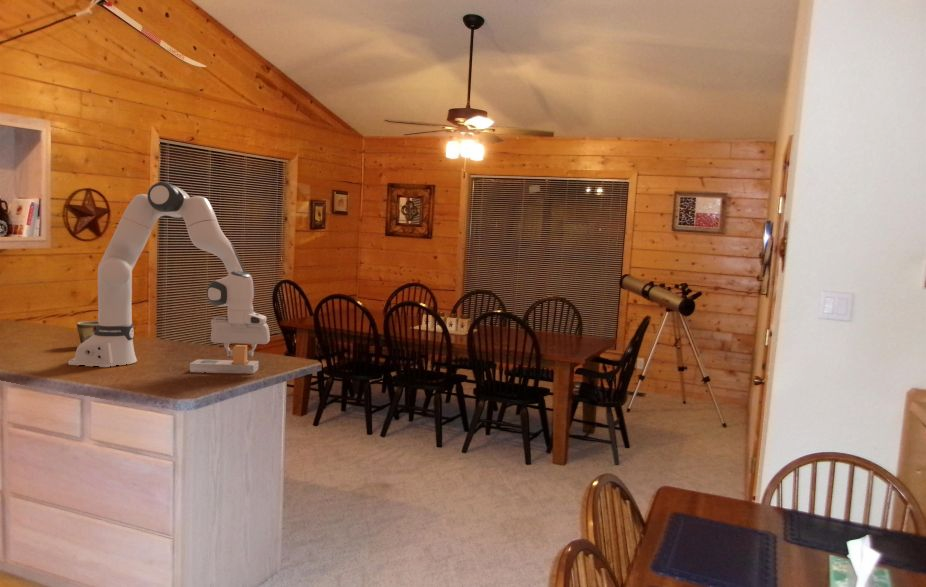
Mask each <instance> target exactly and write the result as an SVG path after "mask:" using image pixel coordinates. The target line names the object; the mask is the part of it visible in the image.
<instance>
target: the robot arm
mask: <svg viewBox="0 0 926 587" xmlns="http://www.w3.org/2000/svg"><path fill="white" fill-rule="evenodd" d="M210 202H211V201H209V200H208V198H206V197H204V196H201V195H194V196H191V195H190V194H189V193H188V192H186V191H185V190H183V189H182V188H180V187H178V186H175V185H174V184H172V183H169V182H164V181H163V182H162V181H161V182H157V183H154V184H153V185H151V186H150V188H148V191H147V194H146V193H138V194H137V195H135V196H134V197H133V198H132V199H131V200H130V202H129V204H127V207H126V208H125V210H124V212H123V213H122V216H121V217H120V220H119V221H118V222H119V223H118V224H117V227H116V229H115V231H114V233H113V235H112V237H111V238H110V241H109V243H108V245H107V247H106V249H105V252H104V254H103V255H102V258H101V260H100V262H99V264H98V266H97V311H98V312H97V313H98V315H97V318H98V319H97V321H98V325H96V326H94V327H93V329H92V330H91V331H94V335H92V336H91V337H90V338H88V339H87V340H86V341H84V342H83V343H82V344H81V343H79V345H78V346H77V348H76V351H75V355H74V357H73V358H71V359H69V360H68V365H69V366H79V365H85V366H84V367H93V366H99V367H98V368H110V366H111V367H115V366H116V365H119V366H126V364H127V365H132V364H135V363H136V362H138V359H137V355H136V353H135V347H134V331H135V330H134V323H133V318H132V316H133V313H132V312H133V309H132V308H133V306H132V305H133V303H132V302H133V300H132V299H133V297H132V295H133V281H132V280H133V270H134V269H135V266H136V264H137V262H138V259H139V258H140V256H141V255H142V252H143V250H144V248H145V246H146V244H147V242H148V240H149V238H150V236H151V234H152V231H153V229H154V227H155V224H156V223H157V221H158V220H159V218H162V217H164V218H167V219H174V220H181V219H182V220H183V221H184V223H185V227H186V230H187V233H188V237H189V239H190V241H191V242H192V245H194V246H195V247H196V248H198V249H199V250H202V251H203V252H206V253H209V254H213V255H214V256H216V257H218V258H219V259H220V260H221V261H222V263H223V265H224V267H225V269H226V272H227V273H228V274H227V275H226V276H225V277H222V278H220V279H215V280H213V281H210V283H209V284H208V285H207V288H206V299H207V300H208V302H209V303H210V304H211V305H212V306H215V307H226V306H227V316H215V317H212V318H211V320H210V327H211V333H210V341H211V342H212V343H214V344H223V347H224V348H225V349H224V350H226V352H227V353H226V356H227V357H228V356H231V357H233V349H231V348H230V347H229V346H230V344H241V345H242V344H248V345H251V350H247V357H253V356H254V352H255V349H256V348H257V346H258V345H266V344H268V343H269V342H270V340H271V339H270V338H271V337H270V336H271V335H270V334H271V333H270V327H269V325H268V323H267V318H268V317H267V316H266V315H263V314H260V313H257V312H255V311H254V305H253V301H254V298H255V294H256V289H255V285H254V279H253V277H252V275H251V274H250V273H248V272H246V270H245V268H244V266H243V263H242V262H241V259H240V258H239V257H240V256H239V255H238V253H237V250H236V248H235V246H234V245H233V243H232V241H231V240H230V239H229V238H228V237H226V235H225V233H224V232H223V230H222V229H221V226H220V225H219V221H218V218H217V216H216V213H215V210H214V209H213V206H212V204H211V203H210ZM116 367H117V366H116Z"/></svg>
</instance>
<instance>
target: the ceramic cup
mask: <svg viewBox="0 0 926 587" xmlns="http://www.w3.org/2000/svg"><path fill="white" fill-rule="evenodd" d="M96 325H98V320H89V321H87V320H85V321H79V322H77V323H76V328H77V329H76V330H77V332H78V336H79V340H80V344H82V343H83V342H84V341H86V340H87V339H88V338H90V337H91V336H92V335H94V331H91V330H92V329H93V327H94V326H96Z"/></svg>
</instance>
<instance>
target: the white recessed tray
mask: <svg viewBox="0 0 926 587" xmlns="http://www.w3.org/2000/svg"><path fill="white" fill-rule="evenodd" d="M259 362H260V361H259V360H247V364H233V359H201V358H200V359H195V360H194V361H192V362H190V363H189V372H190V373H204V372H206V373H211V374H212V373H213V374H244V373H245V374H248V375H249V374H250V375H253V374H255V373H256V372H257V371H258V370H259ZM206 373H205V374H206ZM245 374H244V375H245Z"/></svg>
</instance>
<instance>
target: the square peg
mask: <svg viewBox="0 0 926 587" xmlns="http://www.w3.org/2000/svg"><path fill="white" fill-rule="evenodd" d="M232 350H233V352H232V353H233V355H232V360H233V364H247V361H248V345H242V344H241V345H240V344H236V345H235V346H233V347H232Z"/></svg>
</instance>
